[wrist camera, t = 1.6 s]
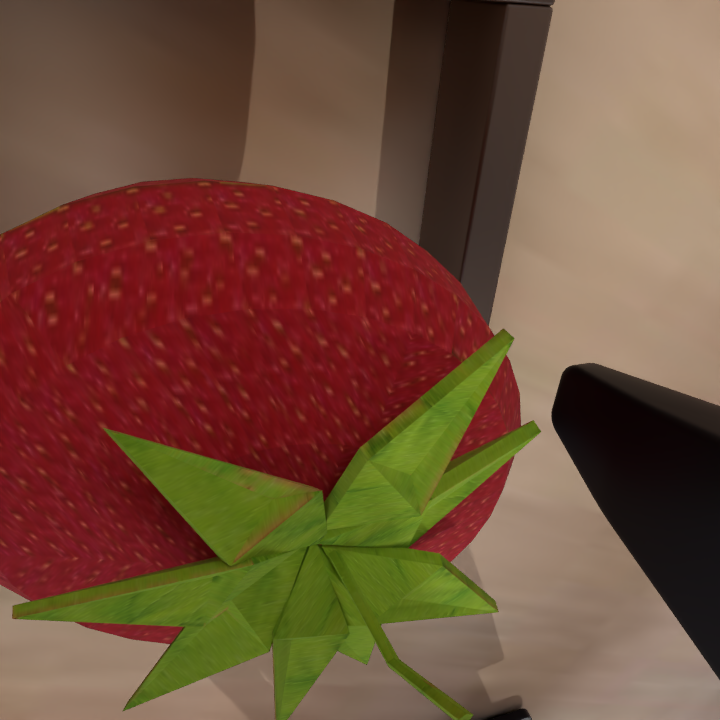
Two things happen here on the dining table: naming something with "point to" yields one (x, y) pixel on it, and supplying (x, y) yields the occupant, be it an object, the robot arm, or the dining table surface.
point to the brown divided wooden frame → (481, 136)
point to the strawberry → (244, 429)
